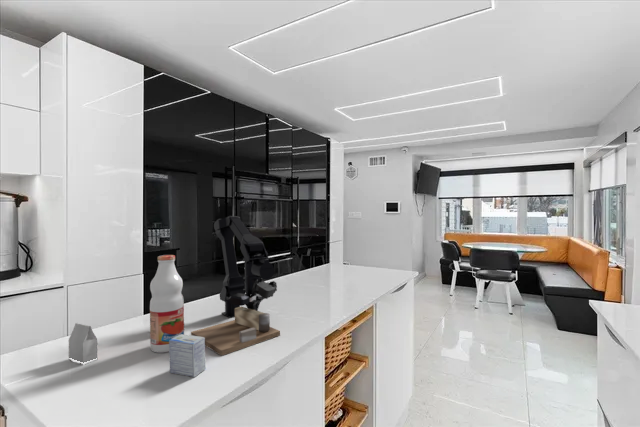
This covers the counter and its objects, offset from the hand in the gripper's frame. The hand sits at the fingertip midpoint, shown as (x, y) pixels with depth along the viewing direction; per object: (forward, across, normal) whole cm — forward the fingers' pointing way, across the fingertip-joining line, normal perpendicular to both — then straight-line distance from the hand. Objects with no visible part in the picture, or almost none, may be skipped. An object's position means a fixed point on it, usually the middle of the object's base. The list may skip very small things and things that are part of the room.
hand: (253, 317), depth 116 cm
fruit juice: (+3, -27, +12) cm, 29 cm away
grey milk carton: (+2, -44, +25) cm, 50 cm away
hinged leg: (+1, -4, -3) cm, 6 cm away
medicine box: (+2, -34, -7) cm, 35 cm away
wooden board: (+3, -10, -1) cm, 11 cm away
